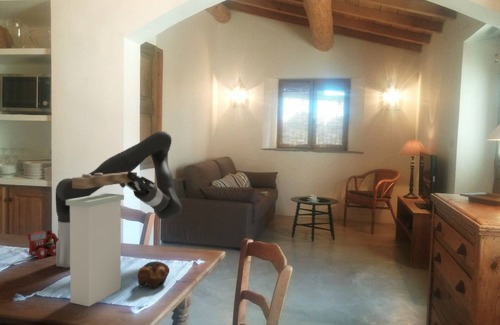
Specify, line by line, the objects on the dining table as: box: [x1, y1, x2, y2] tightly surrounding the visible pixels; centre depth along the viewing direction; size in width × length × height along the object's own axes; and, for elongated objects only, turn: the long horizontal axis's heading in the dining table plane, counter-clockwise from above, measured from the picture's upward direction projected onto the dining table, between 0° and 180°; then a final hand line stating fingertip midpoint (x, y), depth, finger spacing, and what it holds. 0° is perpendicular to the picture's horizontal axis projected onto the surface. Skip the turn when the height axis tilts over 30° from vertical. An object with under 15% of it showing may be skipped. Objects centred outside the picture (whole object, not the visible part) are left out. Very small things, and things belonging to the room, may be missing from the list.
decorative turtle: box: [137, 261, 170, 290], centre depth 129 cm, size 10×15×8 cm, turn 165°
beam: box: [71, 171, 138, 189], centre depth 122 cm, size 25×4×4 cm, turn 160°
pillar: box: [66, 192, 125, 307], centre depth 119 cm, size 16×8×31 cm, turn 160°
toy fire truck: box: [27, 229, 58, 259], centre depth 159 cm, size 7×12×10 cm, turn 147°
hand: (123, 173), depth 129 cm, fingers closed on beam, 4 cm apart
